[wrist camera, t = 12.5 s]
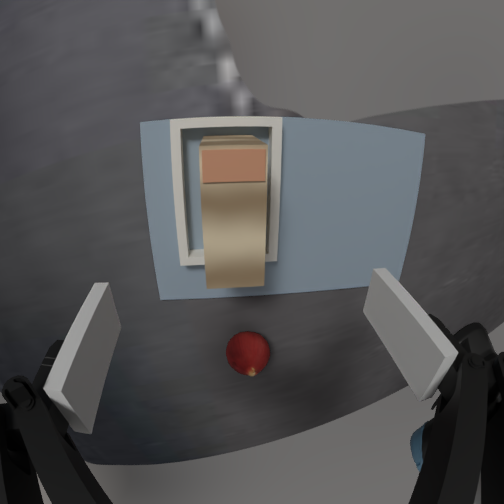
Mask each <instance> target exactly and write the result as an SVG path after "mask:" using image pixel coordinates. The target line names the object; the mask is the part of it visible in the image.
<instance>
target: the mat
mask: <svg viewBox="0 0 504 504" xmlns="http://www.w3.org/2000/svg"><path fill="white" fill-rule="evenodd" d="M224 117H226V116H224ZM266 117H268V116H266ZM181 119H182V118H181ZM170 120H171V119H168V120H157V121H148V122H140V131H141V149H142V163H143V176H144V187H145V197H146V206H147V215H148V223H149V231H150V238H151V245H152V252H153V259H154V265H155V271H156V277H157V283H158V289H159V294H160V300H174V299H200V298H221V297H240V296H257V295H272V294H286V293H299V292H311V291H323V290H334V289H345V288H355V287H365V286H369V285H370V281H371V276H372V272H373V269H377V268H386V269H387V270H388V271H389V272H390V273H391V274H392V275H393V277H394V278H395V279H396V280H397V281H398V282H399V278H400V275H401V271H402V267H403V263H404V259H405V255H406V251H407V247H408V242H409V238H410V233H411V228H412V223H413V218H414V213H415V208H416V202H417V196H418V190H419V183H420V177H421V169H422V161H423V153H424V143H425V134H423V133H418V132H412V131H407V130H401V129H396V128H390V127H383V126H376V125H369V124H362V123H354V122H345V121H335V120H322V119H311V118H294V117H282V154H281V184H280V209H279V231H278V252H277V261H271V262H265V277H264V286H255V287H237V288H218V289H207V286H206V273H205V265H187V266H180V257H179V248H178V239H177V229H176V218H175V206H174V193H173V178H172V162H171V141H170ZM182 135H183V161H184V181H185V198H186V212H187V226H188V238H189V249H190V250H193V249H204V245H203V230H202V212H201V191H200V166H199V145H200V143H201V141H202V139H203V136H215V135H253V136H254V137H256V138H258V139H259V140H261V141H262V142H264V143H266V144H267V145H268V142H269V127H266V126H233V127H202V128H184V129H182ZM267 188H268V173H267ZM266 225H267V213H266Z"/></svg>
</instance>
